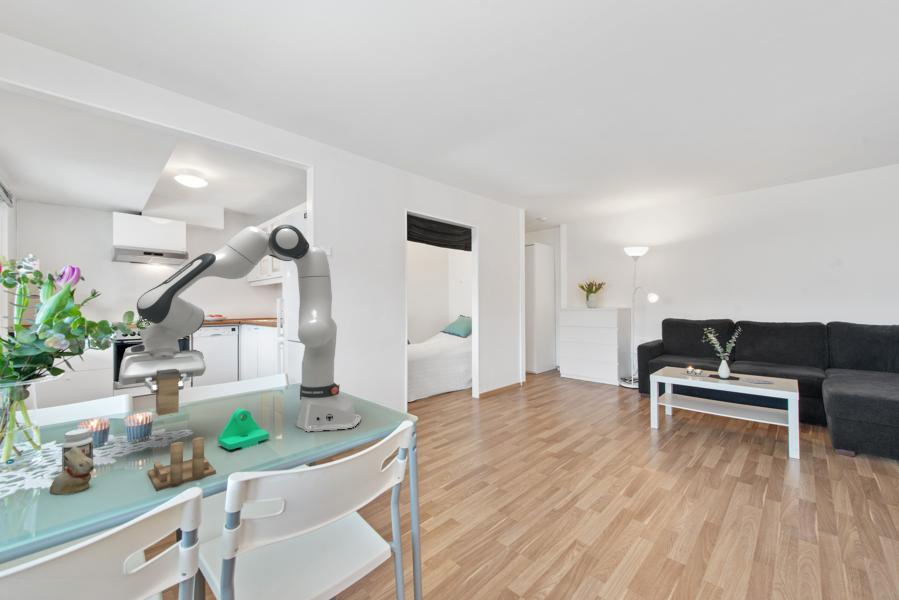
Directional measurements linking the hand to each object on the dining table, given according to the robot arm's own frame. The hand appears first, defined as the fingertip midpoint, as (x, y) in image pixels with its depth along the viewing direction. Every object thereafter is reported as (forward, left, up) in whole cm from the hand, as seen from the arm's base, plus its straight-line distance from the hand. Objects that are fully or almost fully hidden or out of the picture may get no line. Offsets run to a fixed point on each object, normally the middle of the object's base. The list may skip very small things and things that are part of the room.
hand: (167, 390), depth 105 cm
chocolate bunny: (+8, +19, -19) cm, 28 cm away
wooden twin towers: (-12, +12, -18) cm, 25 cm away
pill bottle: (+16, +9, -19) cm, 26 cm away
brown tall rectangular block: (0, 0, -6) cm, 6 cm away
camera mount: (-18, -8, -19) cm, 27 cm away
